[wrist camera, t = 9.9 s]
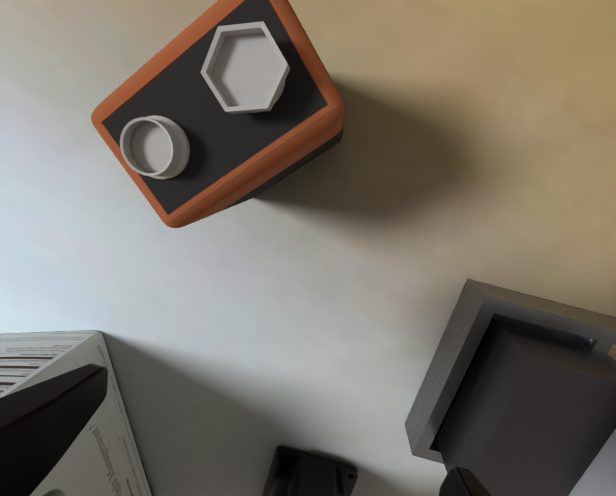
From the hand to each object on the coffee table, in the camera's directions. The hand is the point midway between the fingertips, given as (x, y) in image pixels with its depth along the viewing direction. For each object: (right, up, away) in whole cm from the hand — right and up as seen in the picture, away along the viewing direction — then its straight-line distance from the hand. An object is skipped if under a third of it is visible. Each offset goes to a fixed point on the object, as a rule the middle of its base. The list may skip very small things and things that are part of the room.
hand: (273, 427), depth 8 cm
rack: (+16, -4, +12) cm, 20 cm away
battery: (-1, +11, +10) cm, 15 cm away
